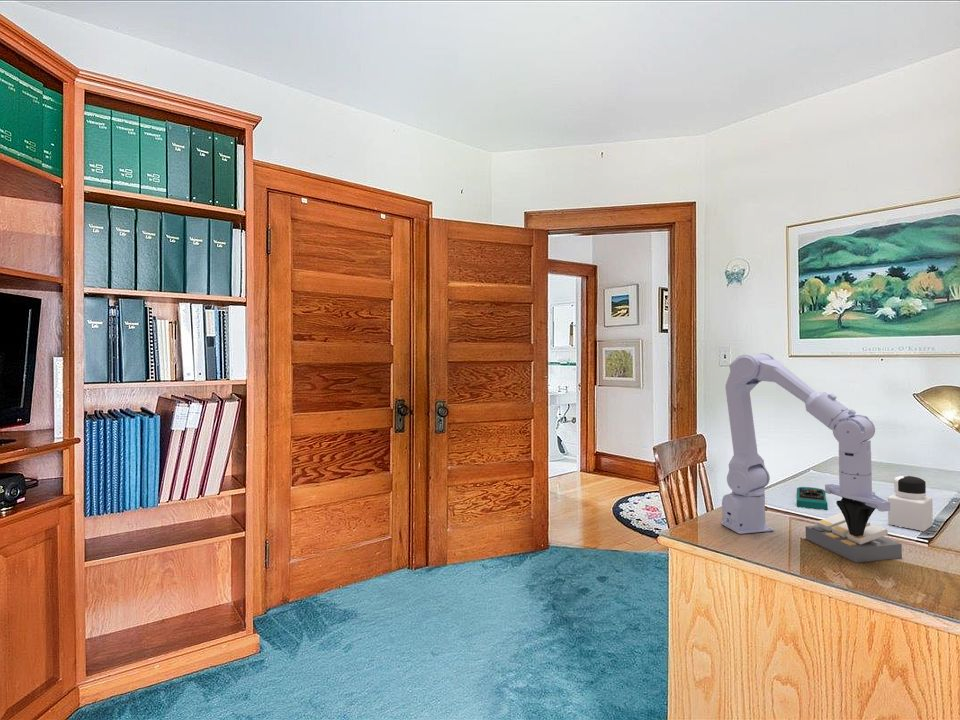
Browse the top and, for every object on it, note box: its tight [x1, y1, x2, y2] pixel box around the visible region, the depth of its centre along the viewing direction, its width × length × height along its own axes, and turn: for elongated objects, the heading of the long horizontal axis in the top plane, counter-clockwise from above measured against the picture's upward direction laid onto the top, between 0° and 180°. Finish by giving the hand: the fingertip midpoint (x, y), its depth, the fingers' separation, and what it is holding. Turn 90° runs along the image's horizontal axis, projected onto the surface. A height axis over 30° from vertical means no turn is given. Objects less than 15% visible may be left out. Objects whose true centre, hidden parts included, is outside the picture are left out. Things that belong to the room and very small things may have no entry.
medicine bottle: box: [887, 475, 934, 533], centre depth 130 cm, size 7×7×12 cm
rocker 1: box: [816, 512, 846, 531], centre depth 122 cm, size 7×3×1 cm, turn 98°
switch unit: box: [805, 524, 903, 564], centre depth 118 cm, size 11×14×4 cm
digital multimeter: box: [796, 486, 829, 511], centre depth 152 cm, size 7×15×3 cm, turn 149°
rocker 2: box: [831, 521, 871, 538], centre depth 118 cm, size 7×3×1 cm, turn 98°
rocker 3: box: [847, 523, 889, 545], centre depth 114 cm, size 7×3×1 cm, turn 98°
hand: (856, 534), depth 113 cm, fingers closed, pressing on rocker 3
